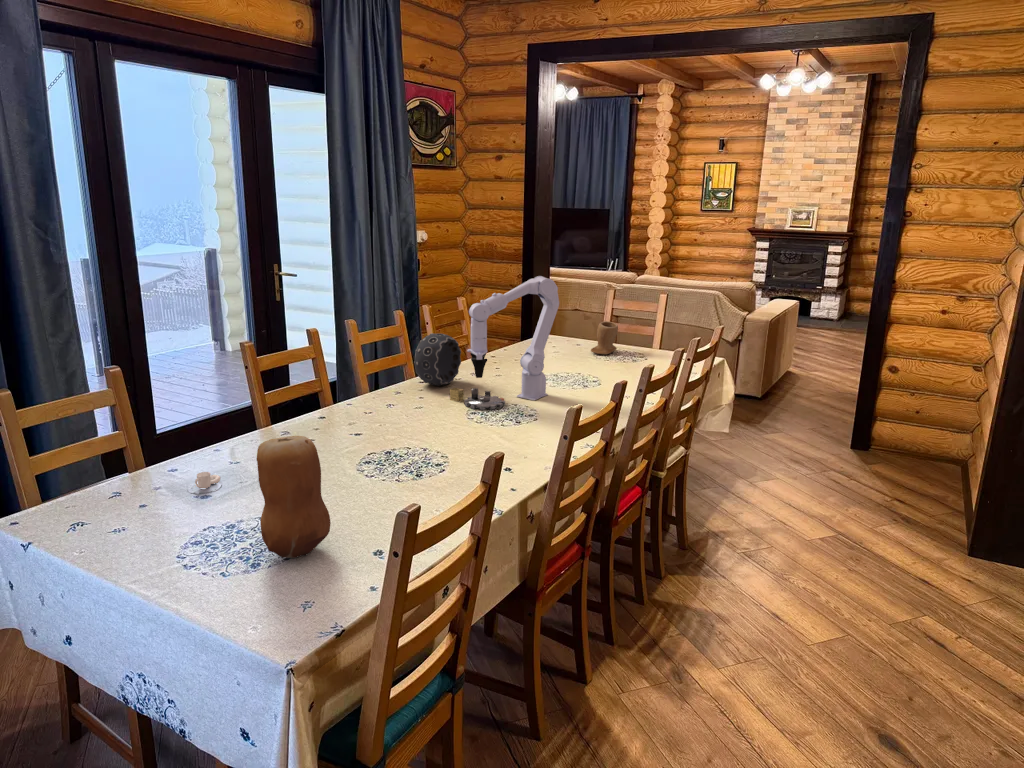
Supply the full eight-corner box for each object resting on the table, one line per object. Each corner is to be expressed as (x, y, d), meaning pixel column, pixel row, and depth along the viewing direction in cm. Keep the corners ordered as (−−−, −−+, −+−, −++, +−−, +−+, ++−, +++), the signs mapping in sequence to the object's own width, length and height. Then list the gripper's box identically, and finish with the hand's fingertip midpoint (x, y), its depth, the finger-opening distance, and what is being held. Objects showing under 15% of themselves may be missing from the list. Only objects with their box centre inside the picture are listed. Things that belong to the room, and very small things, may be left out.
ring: (412, 388, 264) (411, 336, 259) (440, 377, 281) (440, 328, 276) (435, 392, 259) (435, 340, 254) (463, 380, 276) (463, 331, 271)
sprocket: (480, 395, 255) (481, 383, 253) (513, 402, 247) (513, 390, 245) (456, 404, 243) (456, 391, 242) (489, 412, 235) (489, 399, 234)
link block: (450, 400, 250) (449, 389, 249) (455, 398, 252) (455, 387, 251) (458, 402, 248) (458, 391, 247) (463, 400, 250) (463, 389, 249)
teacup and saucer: (215, 479, 178) (213, 464, 177) (231, 487, 173) (229, 472, 172) (181, 489, 172) (179, 474, 171) (197, 498, 167) (195, 483, 166)
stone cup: (610, 357, 321) (612, 325, 317) (587, 354, 327) (588, 322, 323) (623, 351, 334) (624, 320, 330) (600, 348, 340) (601, 318, 336)
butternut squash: (288, 533, 150) (280, 423, 143) (343, 542, 146) (338, 431, 140) (247, 564, 137) (236, 445, 131) (306, 575, 133) (298, 454, 127)
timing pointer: (490, 398, 253) (490, 391, 252) (484, 398, 253) (484, 391, 252) (490, 397, 254) (490, 391, 253) (485, 397, 254) (485, 391, 253)
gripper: (467, 333, 250) (467, 369, 254) (467, 341, 237) (467, 380, 240) (486, 333, 251) (486, 369, 255) (488, 341, 237) (488, 380, 241)
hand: (478, 374), depth 247 cm, fingers open, 7 cm apart
